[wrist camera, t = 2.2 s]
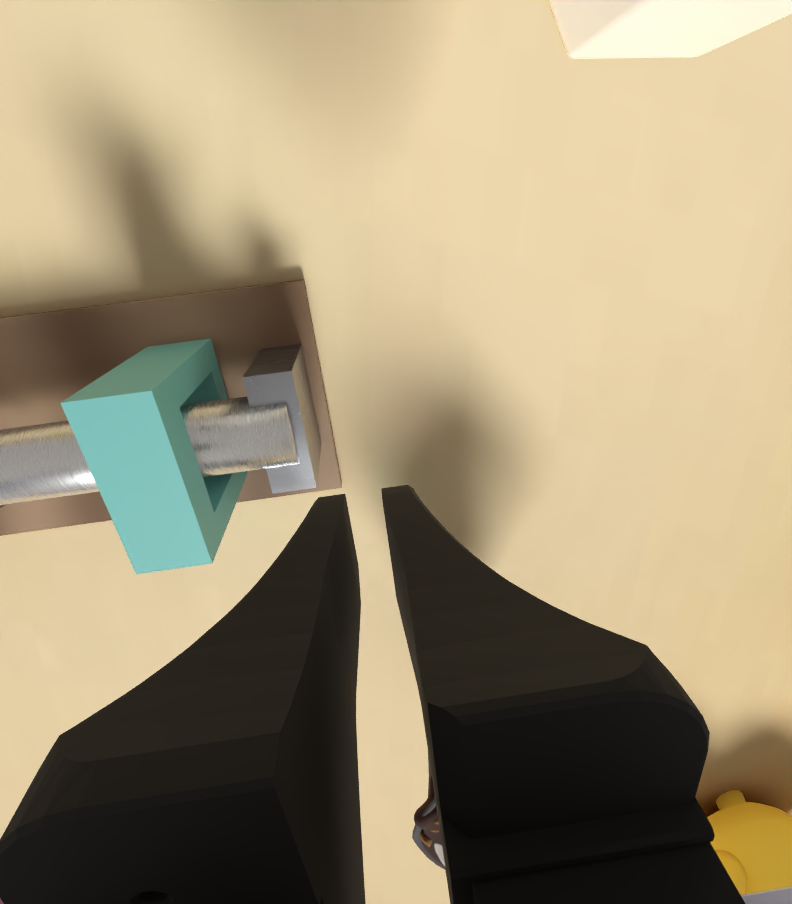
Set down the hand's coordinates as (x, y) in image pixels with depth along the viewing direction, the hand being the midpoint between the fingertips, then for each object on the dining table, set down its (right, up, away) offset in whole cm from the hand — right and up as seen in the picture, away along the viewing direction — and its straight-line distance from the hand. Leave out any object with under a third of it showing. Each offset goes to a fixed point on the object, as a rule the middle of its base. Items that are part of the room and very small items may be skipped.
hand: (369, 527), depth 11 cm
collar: (-7, +4, +9) cm, 12 cm away
